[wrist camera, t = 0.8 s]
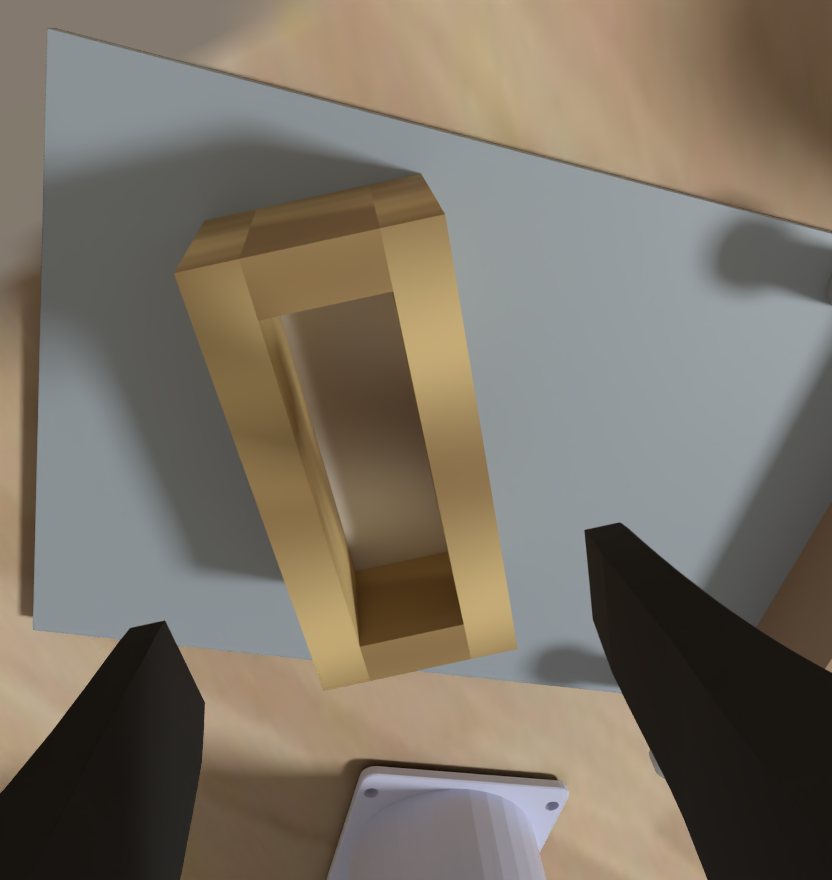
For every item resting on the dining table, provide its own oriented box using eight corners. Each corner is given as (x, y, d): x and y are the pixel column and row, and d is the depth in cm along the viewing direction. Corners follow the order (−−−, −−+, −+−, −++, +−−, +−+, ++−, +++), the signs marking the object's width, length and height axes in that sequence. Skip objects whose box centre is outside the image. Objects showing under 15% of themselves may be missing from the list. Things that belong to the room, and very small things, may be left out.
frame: (488, 551, 23) (518, 648, 19) (323, 586, 23) (323, 690, 19) (421, 173, 17) (444, 214, 14) (204, 220, 17) (173, 272, 14)
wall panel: (788, 701, 28) (852, 795, 25) (38, 618, 23) (-12, 723, 19) (1060, 291, 21) (1202, 345, 18) (55, 28, 16) (-21, 32, 12)
